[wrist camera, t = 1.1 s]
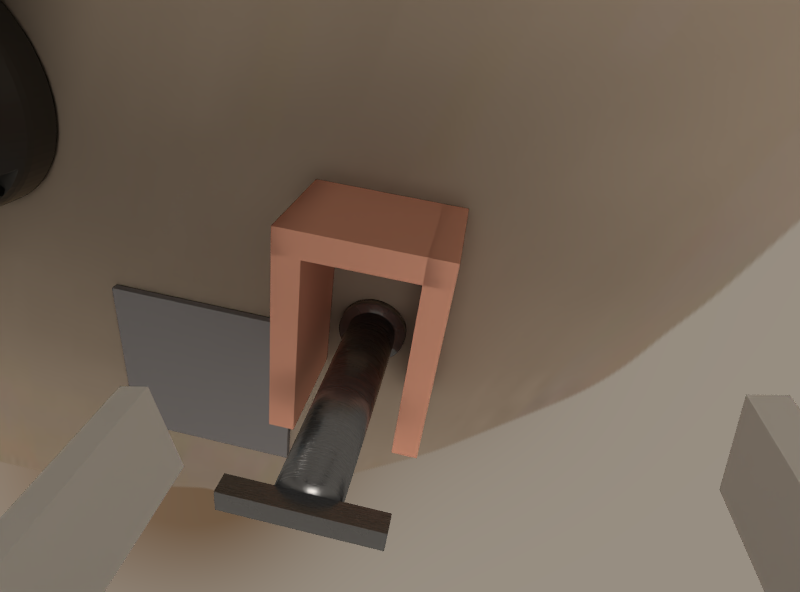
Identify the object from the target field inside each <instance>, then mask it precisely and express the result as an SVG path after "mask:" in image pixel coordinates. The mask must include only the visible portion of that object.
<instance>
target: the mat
mask: <svg viewBox="0 0 800 592" xmlns="http://www.w3.org/2000/svg"><path fill="white" fill-rule="evenodd" d="M112 291H113V296H114V302H115V308H116V313H117V319H118V325H119V331H120V336H121V342H122V348H123V354H124V359H125V365H126V371H127V376H128V382H129V386H134V387H148V388H149V390H150V392H151V394H152V397H153V399H154V401H155V403H156V405H157V408H158V410H159V412H160V414H161V416H162V419H163V421H164V423H165V425H166V428H167V430H172V431H176V432H180V433H184V434H188V435H193V436H197V437H201V438H205V439H210V440H214V441H218V442H222V443H226V444H231V445H235V446H239V447H243V448H248V449H252V450H256V451H260V452H264V453H269V454H273V455H277V456H281V457H286V458H287V456H288V454H289V438H290V429H288V428H284V427H280V426H275V425H271V424H269V386H270V318H268V317H264V316H259V315H254V314H250V313H245V312H241V311H236V310H231V309H227V308H222V307H218V306H213V305H208V304H204V303H199V302H194V301H190V300H185V299H181V298H176V297H171V296H167V295H162V294H158V293H153V292H148V291H144V290H139V289H134V288H130V287H125V286H121V285H115V286H114V287H113V288H112Z"/></svg>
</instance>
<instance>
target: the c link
mask: <svg viewBox="0 0 800 592" xmlns="http://www.w3.org/2000/svg"><path fill="white" fill-rule="evenodd" d="M468 212H469V209H467V208H462V207H457V206H452V205H447V204H442V203H436V202H431V201H426V200H421V199H416V198H411V197H406V196H400V195H395V194H390V193H385V192H380V191H375V190H370V189H364V188H359V187H354V186H349V185H344V184H339V183H334V182H328V181H323V180H318V179H316V180H315V181H314V182H313V183H312V184H311V185H310V186H309V187H308V188H307V189H306V190H305V191H304V192H303V193H302V194H301V195H300V196H299V197H298V199H297V200H296V201H295V202H294V203H293V204H292V205H291V206H290V207H289V208H288V209H287V210H286V211H285V212H284V213H283V214H282V215H281V216H280V217H279V218H278V219H277V220H276V221H275V222H274V223H273V224H272V225H271V278H270V386H269V424H271V425H275V426H280V427H284V428H288V429H294V427H295V425H296V423H297V421H298V419H299V417H300V414H301V412H302V410H303V408H304V406H305V404H306V402H307V400H308V398H309V396H310V393H311V391H312V389H313V387H314V385H315V383H316V381H317V379H318V377H319V375H320V372H321V370H322V368H323V366H324V364H325V362H326V360H327V352H328V340H329V328H330V315H331V303H332V291H333V279H334V267H336V268H340V269H345V270H350V271H355V272H360V273H365V274H369V275H374V276H379V277H384V278H389V279H394V280H398V281H403V282H408V283H413V284H418V285H423V286H422V292H421V297H420V302H419V308H418V313H417V318H416V324H415V329H414V334H413V340H412V345H411V351H410V356H409V361H408V367H407V372H406V377H405V383H404V388H403V394H402V399H401V404H400V410H399V415H398V420H397V426H396V431H395V437H394V442H393V447H392V453H396V454H401V455H405V456H409V457H414V458H417V454H418V450H419V445H420V441H421V436H422V432H423V427H424V423H425V418H426V414H427V409H428V405H429V400H430V396H431V392H432V387H433V383H434V378H435V374H436V369H437V365H438V360H439V356H440V351H441V347H442V342H443V338H444V333H445V329H446V325H447V320H448V316H449V311H450V307H451V302H452V298H453V293H454V289H455V284H456V280H457V275H458V271H459V267H460V261H461V255H462V249H463V243H464V236H465V230H466V224H467V218H468Z"/></svg>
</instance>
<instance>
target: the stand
mask: <svg viewBox="0 0 800 592" xmlns="http://www.w3.org/2000/svg"><path fill="white" fill-rule="evenodd" d="M339 332H340V336H341V339H342V340H341V342H340V344H339V346H338V349H337V351H336V353H335V355H334V357H333V359H332V362H331V364H330V366H329V368H328V370H327V372H326V375H325V377H324V379H323V381H322V383H321V385H320V388H319V390H318V392H317V394H316V396H315V398H314V401H313V403H312V405H311V407H310V409H309V411H308V414H307V416H306V418H305V420H304V422H303V424H302V427H301V429H300V431H299V433H298V435H297V437H296V440H295V442H294V444H293V446H292V448H291V450H290V453H289V455H288V457H287V459H286V461H285V463H284V465H283V468H282V470H281V472H280V474H279V476H278V478H277V481H276V483H275V485H271V484H266V483H262V482H258V481H254V480H250V479H246V478H242V477H237V476H233V475H229V474H225V473H224V475H223V477H222V478H221V480H220V482H219V484H218V485H217V487H216V489H215V491H214V501H215V510H219V511H223V512H227V513H231V514H236V515H240V516H244V517H248V518H252V519H256V520H260V521H264V522H268V523H272V524H276V525H280V526H285V527H288V528H292V529H296V530H301V531H304V532H308V533H312V534H316V535H321V536H324V537H329V538H333V539H337V540H341V541H345V542H349V543H353V544H357V545H361V546H365V547H369V548H373V549H377V550H382V551H384V548H385V544H386V539H387V534H388V530H389V525H390V520H391V515H392V514H391V513H387V512H383V511H378V510H374V509H370V508H366V507H362V506H358V505H353V504H349V503H345V502H344V501H345V498H346V495H347V492H348V488H349V485H350V482H351V479H352V476H353V472H354V469H355V466H356V463H357V460H358V456H359V453H360V450H361V447H362V444H363V440H364V437H365V434H366V431H367V428H368V424H369V421H370V418H371V415H372V412H373V408H374V405H375V402H376V399H377V395H378V392H379V389H380V386H381V383H382V379H383V376H384V373H385V370H386V367H387V363H388V360H389V357H392V356H393V355H395V354H396V353H397V352H398V351H399V350H400V349H401V347H402V345H403V343H404V339H405V335H406V327H405V323H404V320H403V318H402V317H401V315H400V314H399V313H398V312H397V311H396V310H395V309H394V308H393V307H391V306H390V305H388V304H386V303H384V302H381V301H378V300H361V301H358V302H356V303H354V304H352V305H351V306H349V307H348V308H347V309H346V311H345V312H344V314H343V316H342V318H341V321H340V325H339Z"/></svg>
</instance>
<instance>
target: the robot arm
mask: <svg viewBox="0 0 800 592" xmlns="http://www.w3.org/2000/svg"><path fill="white" fill-rule="evenodd" d="M56 134H57V131H56V116H55V109H54V104H53V99H52V95H51V92H50V88H49V85H48V82H47V79H46V76H45V73H44V71H43V69H42V66H41V64H40V62H39V60H38V58H37V55H36V53H35V51H34V50H33V48H32V46H31V44H30V42H29V40H28V39H27V37H26V35H25V34H24V32H23V31H22V29H21V28H20V26H19V25H18V23H17V22H16V20H15V19H14V17H13V16H12V15H11V13H10V12H9V11H8V9H7V8H6V7H5V6H4V5H3V3H2V2H1V1H0V206H2V205H4V204H6V203H9V202H11V201H13V200H16V199H18V198H20V197H22V196H24V195H26V194H28V193H29V192H31V191H32V190H33V189H34V188H36V187H37V186H38V185H39V184H40V182H41V181H42V180H43V179H44V177H45V176H46V174H47V172H48V170H49V168H50V166H51V163H52V160H53V157H54V152H55V146H56ZM183 467H184V465H183V463H182V461H181V458H180V456H179V454H178V452H177V450H176V447H175V445H174V443H173V441H172V439H171V436H170V434H169V432H168V430H167V428H166V425H165V423H164V421H163V419H162V416H161V414H160V412H159V410H158V408H157V405H156V403H155V401H154V399H153V397H152V394H151V392H150V390H149V388H148V387H134V386H120V387H119V388H118V389H117V390H116V391H115V392H114V393H113V395H112V396H111V397H110V398H109V399H108V400H107V401H106V402H105V403H104V404H103V406H102V407H101V408H100V409H99V410H98V411H97V412H96V413H95V414H94V415H93V417H92V418H91V419H90V420H89V421H88V422H87V423H86V424H85V425H84V426H83V428H82V429H81V430H80V431H79V432H78V433H77V434H76V435H75V436H74V437H73V438H72V440H71V441H70V442H69V443H68V444H67V445H66V446H65V447H64V448H63V449H62V451H61V452H60V453H59V454H58V455H57V456H56V457H55V458H54V459H53V460H52V462H51V463H50V464H49V465H48V466H47V467H46V468H45V469H44V470H43V471H42V473H41V474H40V475H39V476H38V477H37V478H36V479H35V480H34V481H33V482H32V484H31V485H30V486H29V487H28V488H27V489H26V490H25V491H24V492H23V493H22V494H21V496H20V497H19V498H18V499H17V500H16V501H15V502H14V503H13V504H12V505H11V507H10V508H9V509H8V510H7V511H6V512H5V513H4V514H3V515H2V516H1V518H0V592H105V590H106V589H107V587H108V585H109V584H110V582H111V581H112V579H113V578H114V576H115V574H116V573H117V571H118V570H119V568H120V567H121V565H122V563H123V562H124V560H125V559H126V557H127V555H128V554H129V552H130V551H131V549H132V548H133V546H134V544H135V543H136V541H137V539H138V538H139V536H140V535H141V533H142V532H143V530H144V529H145V527H146V525H147V524H148V522H149V521H150V519H151V518H152V516H153V514H154V513H155V511H156V509H157V508H158V506H159V505H160V503H161V501H162V500H163V498H164V497H165V495H166V494H167V492H168V490H169V489H170V487H171V486H172V484H173V483H174V481H175V480H176V478H177V476H178V475H179V473H180V472H181V470H182V468H183ZM720 492H721V494H722V496H723V498H724V501H725V503H726V506H727V508H728V510H729V512H730V515H731V517H732V519H733V521H734V524H735V526H736V528H737V530H738V533H739V535H740V537H741V539H742V542H743V544H744V546H745V549H746V551H747V553H748V555H749V558H750V560H751V562H752V564H753V566H754V569H755V571H756V574H757V576H758V578H759V580H760V583H761V585H762V587H763V589H764V592H800V409H799V407H798V406H797V405H796V403H795V402H794V400H793V399H792V397H791V396H790V395H746V397H745V401H744V404H743V408H742V411H741V415H740V419H739V422H738V426H737V429H736V433H735V436H734V440H733V443H732V447H731V450H730V454H729V458H728V461H727V465H726V468H725V472H724V475H723V479H722V482H721V486H720Z"/></svg>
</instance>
